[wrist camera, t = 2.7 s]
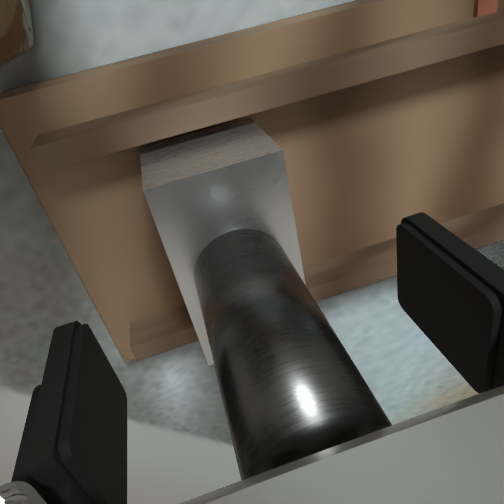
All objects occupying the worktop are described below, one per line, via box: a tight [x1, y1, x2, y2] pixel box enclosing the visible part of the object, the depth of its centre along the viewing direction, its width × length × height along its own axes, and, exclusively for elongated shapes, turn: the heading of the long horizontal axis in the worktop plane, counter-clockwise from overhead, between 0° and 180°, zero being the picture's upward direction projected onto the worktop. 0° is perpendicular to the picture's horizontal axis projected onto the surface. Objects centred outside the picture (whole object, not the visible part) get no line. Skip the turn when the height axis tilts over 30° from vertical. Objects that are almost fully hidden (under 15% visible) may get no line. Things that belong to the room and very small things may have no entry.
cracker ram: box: [139, 117, 392, 480], centre depth 12 cm, size 4×7×11 cm, turn 12°
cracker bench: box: [0, 0, 504, 362], centre depth 16 cm, size 24×12×8 cm, turn 102°
